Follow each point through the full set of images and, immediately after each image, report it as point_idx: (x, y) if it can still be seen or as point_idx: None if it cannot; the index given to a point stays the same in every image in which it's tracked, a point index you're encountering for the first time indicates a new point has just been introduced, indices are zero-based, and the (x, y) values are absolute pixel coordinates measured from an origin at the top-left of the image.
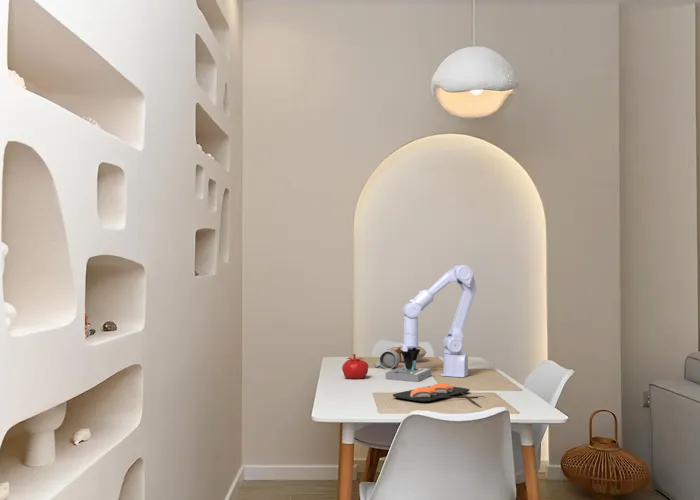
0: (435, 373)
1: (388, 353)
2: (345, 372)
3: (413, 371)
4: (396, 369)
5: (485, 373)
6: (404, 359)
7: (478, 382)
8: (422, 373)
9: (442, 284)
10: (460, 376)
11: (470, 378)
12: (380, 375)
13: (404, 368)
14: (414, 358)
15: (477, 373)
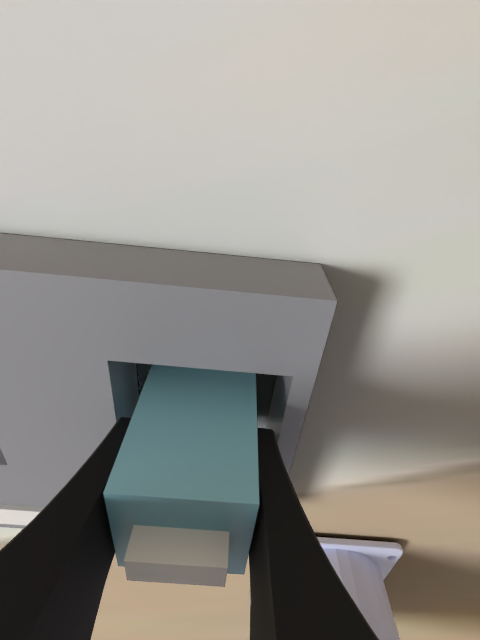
0: (400, 500)
1: None
2: None
3: (56, 472)
4: (81, 305)
5: (441, 634)
6: (28, 528)
7: (144, 628)
8: (17, 525)
9: None
10: (250, 598)
11: (249, 610)
12: (10, 27)
13: (236, 371)
14: (255, 589)
15: (437, 619)
